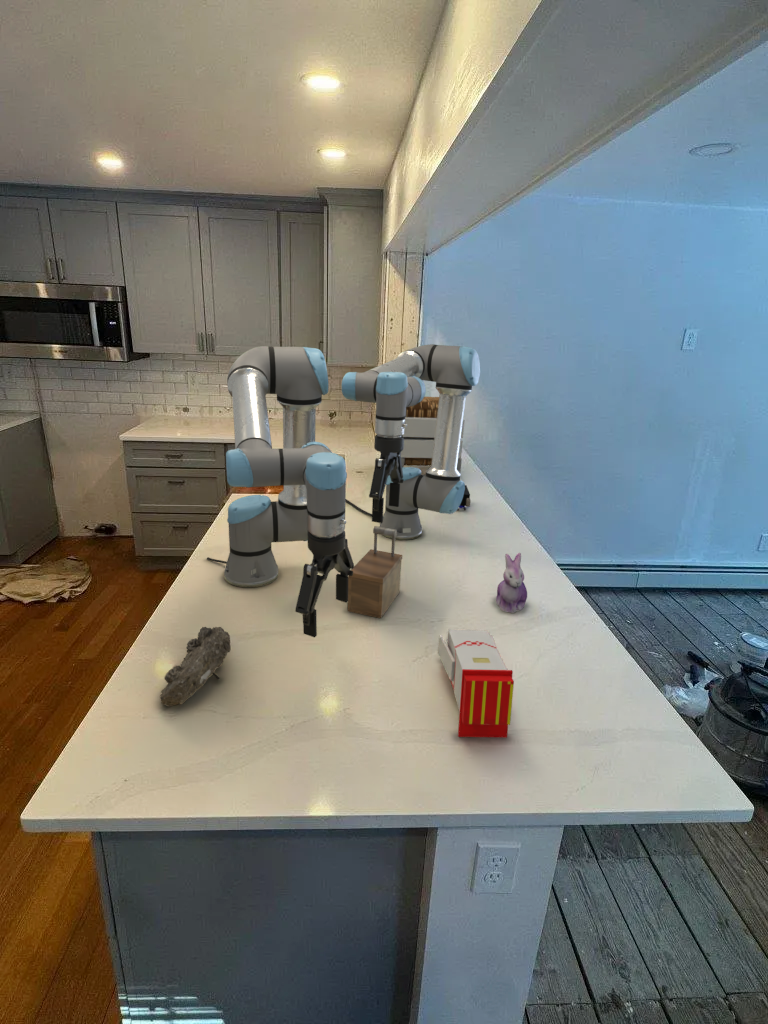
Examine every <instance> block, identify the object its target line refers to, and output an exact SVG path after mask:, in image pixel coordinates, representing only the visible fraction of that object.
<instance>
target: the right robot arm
mask: <svg viewBox="0 0 768 1024" xmlns="http://www.w3.org/2000/svg"><path fill="white" fill-rule="evenodd" d="M480 376H481V362H480V356H479V353H478V352H477V350H476V349H475V348H474V347H470V346H463V345H446V344H445V345H444V344H434V343H433V344H432V343H431V344H424V345H419V346H415V347H411V348H409V349H407V350H404V351H402V352H400V353H399V354H398V355H397V357H396V358H394V359H391V360H389V361H387V362H384V363H382V364H380V365H377V366H375V367H373V368H370V369H368V370H366V371H364V372H357V371H348V372H346V373H345V374H344V375H343V377H342V379H341V393H342V396H343V398H344V399H346V400H350V401H354V402H362V403H363V402H364V403H372V404H375V419H374V434H375V436H374V442H373V443H374V444H373V446H374V450H375V451H376V452H379V453H380V456H379V458H377V457H376V458H375V460H374V470H373V475H372V480H371V484H370V485H371V486H370V489H369V490H370V491H369V494H368V498H371V499H372V505H371V513H370V512H369V511H366V510H364V509H362V508H360V507H359V506H358V505H356V504H354V503H353V502H351V501H350V500H348V499H347V498H346V501H345V503H346V504H348V505H350V506H352V508H355V509H356V510H357V511H359V512H360V513H362V514H364V515H367V516H369V517H371V522H373V523H377V524H378V523H379V526H378V527H384V528H390V529H396V530H397V534H396V537H395V541H410V540H415V539H418V538H420V537H421V536H422V535H423V525H422V524H421V518H420V515H419V510H424V511H430V512H435V513H439V514H447V515H452V514H454V513H456V512H457V511H458V510H457V509H460V508H459V506H460V504H461V501H462V498H463V495H464V491H465V485H466V483H465V482H464V481H463V480H462V479H461V475H462V474H460V473H459V472H458V470H457V463H458V455H459V448H460V440H462V438H461V432H462V424H463V419H464V417H465V416H464V415H465V407H466V400H467V399H466V398H467V396H468V395H469V394H470V393H471V392H472V390H473V387H475V386H477V385H478V384H479V382H480ZM424 381H425V382H432V383H433V382H434V383H435V389H436V390H437V392H438V395H439V396H438V397H439V403H438V412H437V420H436V429H435V438H434V446H433V455H432V463H431V465H430V466H429V468H427V469H426V470H425V474H422V470H421V468H419V467H416V466H406V467H405V466H404V467H403V468H402V462H401V451H403V449H404V437H403V436H402V435H403V434H404V429H405V427H407V424H406V423H405V414H406V407H409V406H413V405H416V404H418V403H419V402H421V401H422V400H423V398H424V397H426V393H427V389H426V388H427V387H426V385H425V383H424ZM384 492H385V493H384ZM384 494H385V498H384ZM384 501H385V502H384ZM384 503H385V504H384ZM384 505H385V507H384ZM384 508H385V509H384ZM382 537H385V538H387V539H389V540H392V537H391V536H385V535H382Z"/></svg>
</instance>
